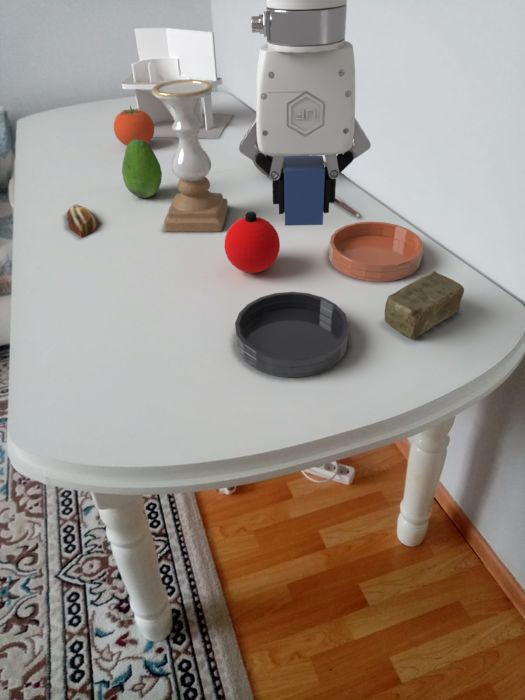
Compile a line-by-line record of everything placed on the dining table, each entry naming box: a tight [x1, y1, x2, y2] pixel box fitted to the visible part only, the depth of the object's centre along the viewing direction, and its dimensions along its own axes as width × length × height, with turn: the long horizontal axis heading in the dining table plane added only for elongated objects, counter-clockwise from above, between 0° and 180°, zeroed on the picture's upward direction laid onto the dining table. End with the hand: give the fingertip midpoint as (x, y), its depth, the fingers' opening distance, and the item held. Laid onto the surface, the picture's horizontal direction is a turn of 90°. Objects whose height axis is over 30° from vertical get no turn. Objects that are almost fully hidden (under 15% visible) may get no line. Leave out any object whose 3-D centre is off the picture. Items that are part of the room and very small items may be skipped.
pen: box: [335, 195, 361, 218], centre depth 104 cm, size 11×1×1 cm, turn 26°
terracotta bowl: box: [328, 221, 424, 283], centre depth 88 cm, size 15×15×3 cm
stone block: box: [384, 271, 465, 340], centre depth 73 cm, size 6×12×5 cm, turn 129°
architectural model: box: [121, 27, 233, 139], centre depth 142 cm, size 28×21×23 cm
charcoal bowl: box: [234, 291, 350, 378], centre depth 71 cm, size 15×15×3 cm
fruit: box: [121, 139, 163, 199], centre depth 108 cm, size 8×8×12 cm
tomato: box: [113, 105, 154, 147], centre depth 133 cm, size 10×10×10 cm
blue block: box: [284, 155, 326, 227], centre depth 60 cm, size 4×4×6 cm
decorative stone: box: [66, 203, 99, 239], centre depth 102 cm, size 14×6×2 cm, turn 32°
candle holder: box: [152, 80, 229, 233], centre depth 94 cm, size 11×11×24 cm
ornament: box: [224, 211, 281, 274], centre depth 84 cm, size 9×9×10 cm
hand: (303, 207), depth 61 cm, fingers closed on blue block, 4 cm apart
